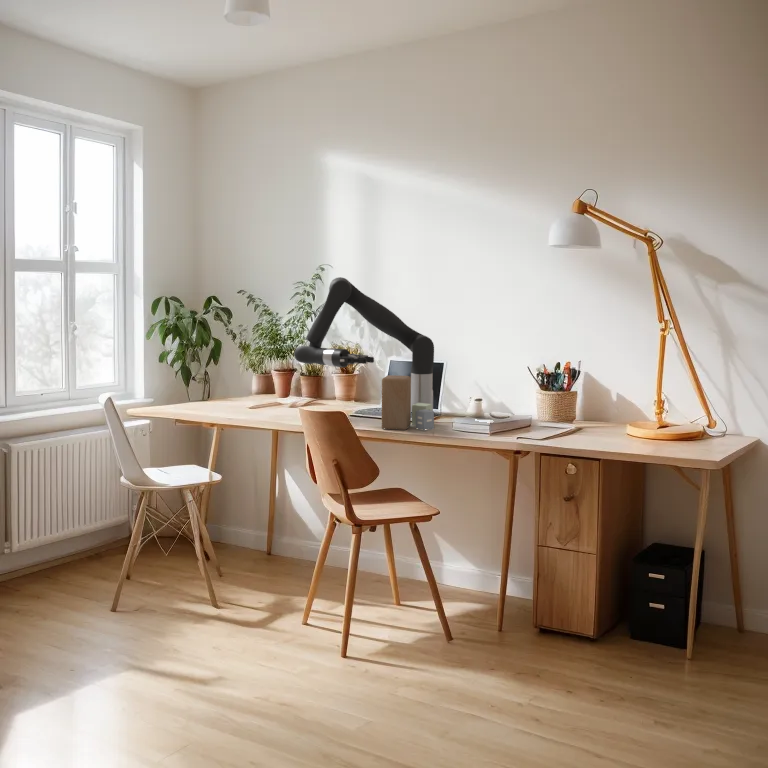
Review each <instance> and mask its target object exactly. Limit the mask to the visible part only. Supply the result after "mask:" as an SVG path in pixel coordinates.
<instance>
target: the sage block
mask: <svg viewBox="0 0 768 768" xmlns="http://www.w3.org/2000/svg"><path fill="white" fill-rule="evenodd" d="M425 409H426V410H431V411H432V404H426V403H416V404H413V405H412V413H411V425H412V426H416V411H418V410H425Z"/></svg>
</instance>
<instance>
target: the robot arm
mask: <svg viewBox="0 0 768 768" xmlns="http://www.w3.org/2000/svg"><path fill="white" fill-rule="evenodd" d="M344 303H346V305H349V306H350V307H352V308H353V309H354V310H355V311H356V312H357V313H358V314H360V316H361V317H363V318H364V319H365V320H366V321H367V322H368V323H369V324H370V325H372V326H373V327H374V328H376V329H377V330H379V331H381V332H382V333H384V334H386V335H387V336H389V337H391V338H394V339H395V340H397V341H398V342H400V343H401V344H402V345H404V347H406V348H407V349H408V350H409V351H410V352H411V353H412V354H411V355H412V356H411V366H410V377H411V412H412V405H413V404H416V403H426V404H432V411H434V390H433V374H434V373H433V371H434V366H435V365H434V363H435V362H434V361H435V345H434V342H433V340H432V339H431V338H430V337H429V336H426V335H424V334H422V333H421V332H418V331H417V330H415V329H413V328H411V327H410V326H408V325H407V324H406V323H405V322H404V321H403V320H402V319H401V318H400V317H399V316H398V315H396V314H395V313H394V312H393V311H391V310H390V309H389V308H387V307H386V306H385V305H383V304H381V303H380V302H378V301H377V300H375V299H373V298H371V297H370V296H368V295H366V294H365V293H363V292H362V291H360V290H359V289H358V288H357V287H356V286H355V285H354V284H352V282H351V281H349V280H348V279H347V278H345V277H335V278H333V279H332V280H331V282H330V284H329V287H328V294H327V296H326V300H325V302H324V304H323V307H322V308H321V310H320V312H319V314H318V315H317V317H316V318H315V319H314V321H313V323H312V324H311V327H310V328H309V330H308V333H306V334H307V335H306V340H307V341H308V342H309V344H308V346H307V345H299V346H297V348H295V349H294V352H293V356H294V359H295V360H296V362H299V363H302V364H307V365H312V364H317V365H321V366H329V367H333V368H334V367H335V368H347V367H348V366H349V365H357V364H361V365H362V364H364V365H365V364H368V363H371V364H373V363H374V362H375V357H374V356H369V355H367V354H361V353H359V354H357V353H350V351H349V350H348V349H345V348H334V347H333V348H332V347H330V348H328V347H327V348H326V347H322V344H323V342H324V339H325V338H326V335H327V334H328V332H329V329H330V327H331V326H332V323H333V321H334V319H335V317H336V315H337V314H338V313H339V311H340V310H341V308H342V307H343V305H344Z"/></svg>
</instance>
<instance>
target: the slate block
mask: <svg viewBox="0 0 768 768" xmlns="http://www.w3.org/2000/svg"><path fill="white" fill-rule="evenodd" d="M416 428H418V429H417V430H420V429H423V430H422V431H426V430H425V429H430V430H434V429H435V411H434V410H433V411H431V410H426V409H425V410H418V411H416V425H415V429H416Z"/></svg>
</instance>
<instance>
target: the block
mask: <svg viewBox="0 0 768 768" xmlns="http://www.w3.org/2000/svg"><path fill="white" fill-rule="evenodd" d="M411 425H412V413H411V375H394V374H393V375H392V374H391V375H386V376H384V377H383V378H381V429H383V428H385V429H384V430H392V429H398V430H397V431H401V430H402V431H405V430H407V429H409V427H410V426H411Z"/></svg>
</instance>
